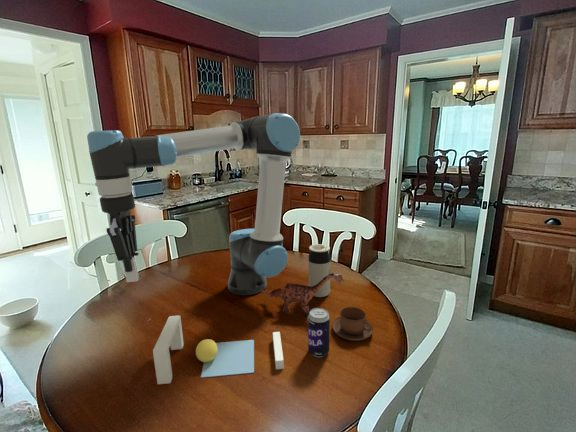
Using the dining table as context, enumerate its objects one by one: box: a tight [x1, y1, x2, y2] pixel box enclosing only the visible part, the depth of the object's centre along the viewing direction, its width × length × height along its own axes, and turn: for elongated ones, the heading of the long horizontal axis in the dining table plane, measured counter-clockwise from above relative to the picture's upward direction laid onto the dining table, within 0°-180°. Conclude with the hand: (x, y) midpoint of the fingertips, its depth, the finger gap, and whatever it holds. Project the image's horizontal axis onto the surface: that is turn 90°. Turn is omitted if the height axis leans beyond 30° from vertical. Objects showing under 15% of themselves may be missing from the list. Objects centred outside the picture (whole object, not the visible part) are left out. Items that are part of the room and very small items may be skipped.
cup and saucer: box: [331, 306, 374, 341], centre depth 93 cm, size 12×12×6 cm
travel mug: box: [308, 243, 331, 298], centre depth 115 cm, size 8×8×18 cm
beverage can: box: [307, 307, 331, 358], centre depth 83 cm, size 6×6×12 cm
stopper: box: [272, 331, 285, 370], centre depth 84 cm, size 2×12×2 cm, turn 6°
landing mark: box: [200, 339, 255, 379], centre depth 83 cm, size 13×13×1 cm
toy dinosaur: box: [261, 272, 345, 320], centre depth 104 cm, size 8×30×15 cm, turn 73°
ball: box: [195, 338, 218, 363], centre depth 82 cm, size 6×6×6 cm
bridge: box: [152, 315, 185, 385], centre depth 81 cm, size 3×15×9 cm, turn 6°
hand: (133, 280), depth 84 cm, fingers closed
